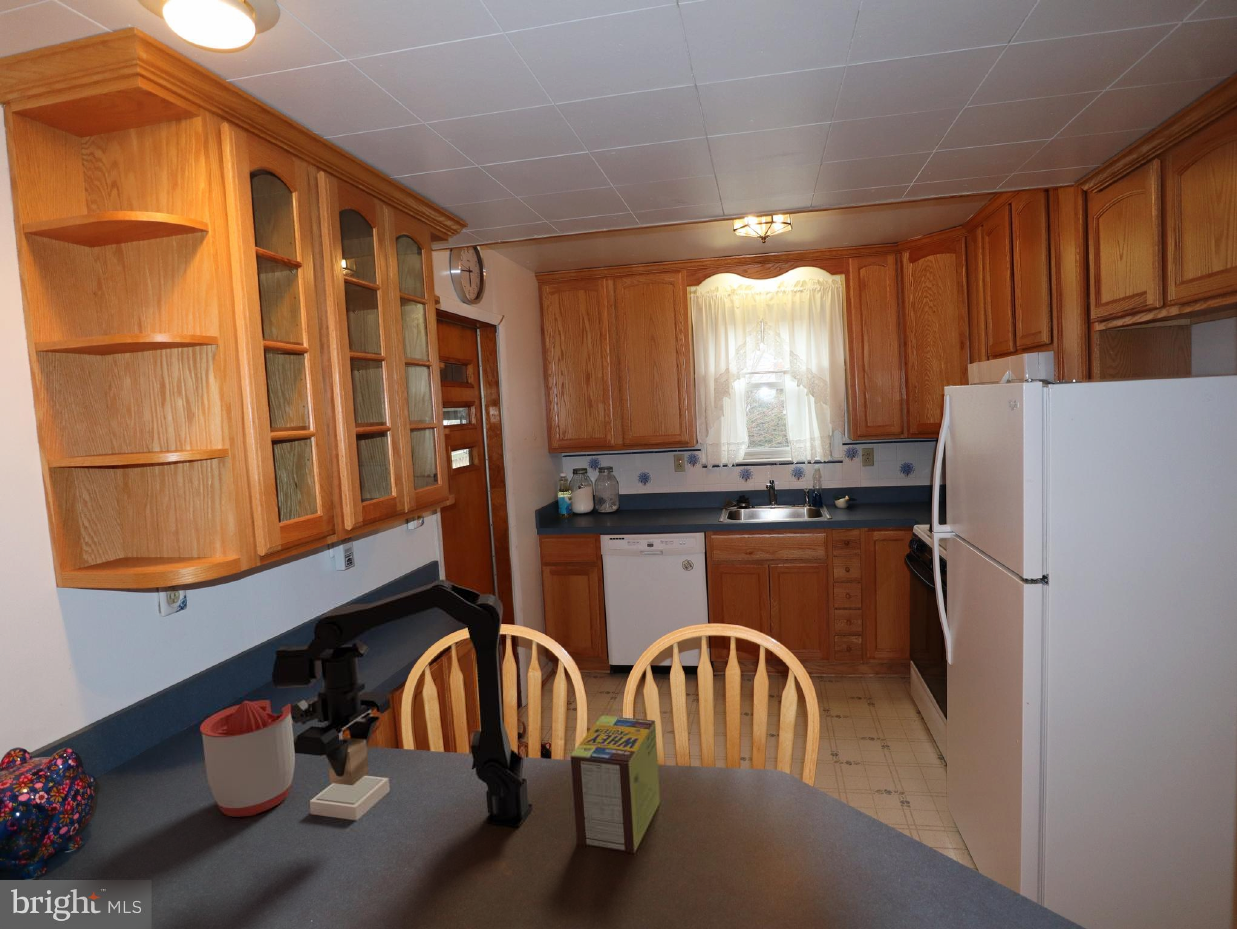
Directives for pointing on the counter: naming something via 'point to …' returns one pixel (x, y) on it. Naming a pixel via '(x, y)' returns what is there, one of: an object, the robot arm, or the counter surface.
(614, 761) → the protein box
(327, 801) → the tile base
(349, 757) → the oak block
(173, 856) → the counter surface
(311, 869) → the counter surface
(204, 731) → the citrus juicer
